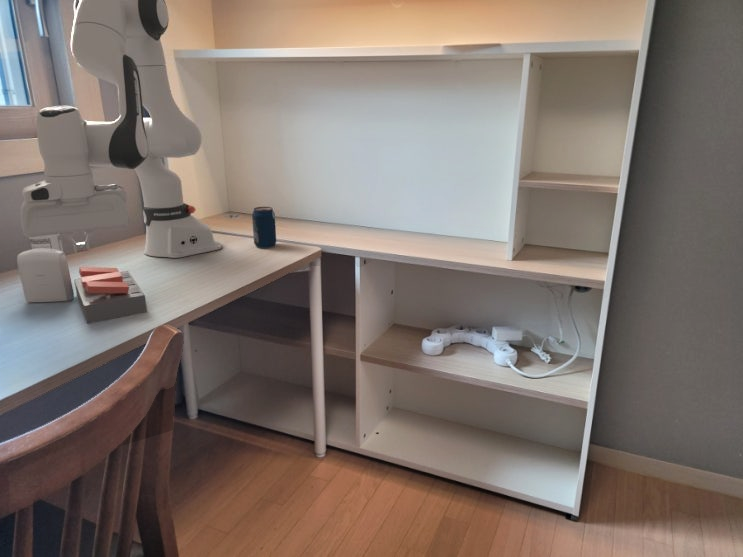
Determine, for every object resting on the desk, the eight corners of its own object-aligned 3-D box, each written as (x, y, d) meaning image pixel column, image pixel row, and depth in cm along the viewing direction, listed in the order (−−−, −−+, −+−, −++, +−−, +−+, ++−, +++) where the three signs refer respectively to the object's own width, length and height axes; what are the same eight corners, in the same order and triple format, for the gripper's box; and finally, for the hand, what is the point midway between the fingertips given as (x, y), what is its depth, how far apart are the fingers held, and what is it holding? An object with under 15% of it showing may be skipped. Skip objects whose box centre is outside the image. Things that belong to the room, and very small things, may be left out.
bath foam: (55, 273, 146) (41, 199, 139) (74, 276, 143) (60, 201, 136) (31, 281, 140) (14, 204, 133) (49, 285, 137) (34, 206, 130)
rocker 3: (125, 288, 123) (125, 282, 122) (128, 293, 120) (128, 287, 119) (85, 287, 118) (85, 281, 118) (87, 292, 115) (88, 286, 115)
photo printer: (22, 304, 125) (11, 252, 121) (32, 297, 129) (21, 246, 125) (69, 302, 126) (59, 251, 122) (77, 296, 130) (68, 246, 126)
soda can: (279, 243, 175) (278, 206, 171) (270, 249, 168) (268, 211, 164) (260, 242, 176) (257, 205, 172) (250, 248, 170) (247, 210, 166)
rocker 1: (116, 273, 132) (116, 268, 132) (119, 277, 129) (119, 272, 129) (79, 272, 128) (79, 266, 127) (81, 276, 125) (81, 271, 124)
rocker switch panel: (130, 285, 137) (127, 268, 135) (147, 311, 121) (144, 292, 119) (76, 294, 131) (73, 276, 129) (87, 323, 115) (83, 303, 113)
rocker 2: (119, 277, 127) (119, 271, 127) (122, 281, 124) (121, 275, 124) (81, 283, 123) (80, 277, 123) (83, 288, 120) (82, 282, 120)
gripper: (121, 181, 122) (130, 241, 126) (14, 189, 111) (27, 254, 116) (127, 185, 117) (135, 247, 121) (14, 194, 106) (28, 261, 111)
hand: (82, 251), depth 118 cm, fingers closed
